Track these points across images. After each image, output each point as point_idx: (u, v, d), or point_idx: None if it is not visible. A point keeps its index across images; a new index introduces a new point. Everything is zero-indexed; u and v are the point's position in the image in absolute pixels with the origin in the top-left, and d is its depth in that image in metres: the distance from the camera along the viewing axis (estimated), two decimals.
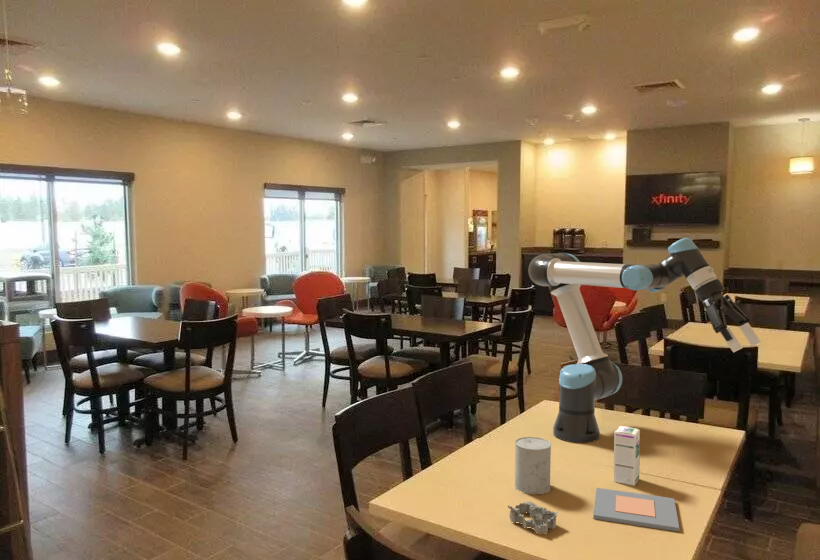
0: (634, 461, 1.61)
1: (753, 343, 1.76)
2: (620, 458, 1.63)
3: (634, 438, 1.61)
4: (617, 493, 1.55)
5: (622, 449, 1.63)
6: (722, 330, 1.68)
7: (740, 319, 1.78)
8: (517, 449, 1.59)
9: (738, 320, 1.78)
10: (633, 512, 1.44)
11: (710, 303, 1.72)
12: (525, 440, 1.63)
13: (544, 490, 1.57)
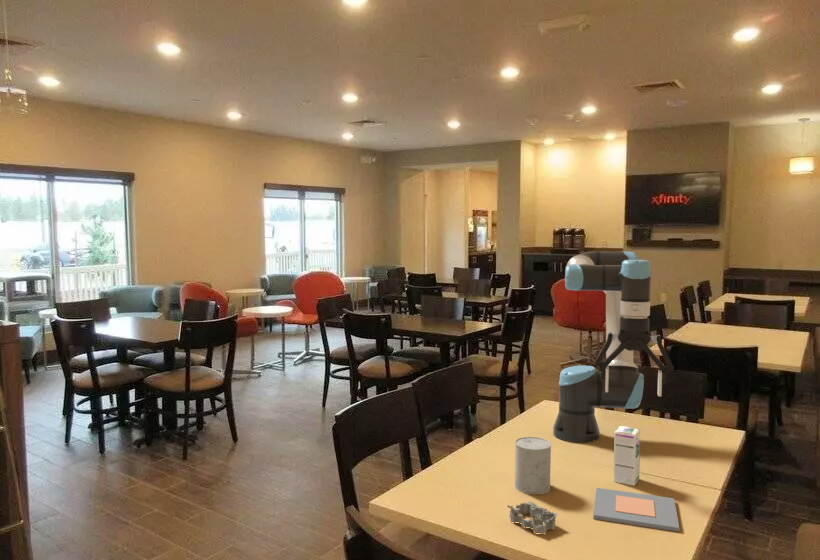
0: (634, 461, 1.61)
1: None
2: (620, 458, 1.63)
3: (634, 438, 1.61)
4: (617, 493, 1.55)
5: (622, 449, 1.63)
6: None
7: (657, 365, 1.60)
8: (517, 449, 1.59)
9: None
10: (633, 512, 1.44)
11: (607, 338, 1.63)
12: (525, 440, 1.63)
13: (544, 490, 1.57)
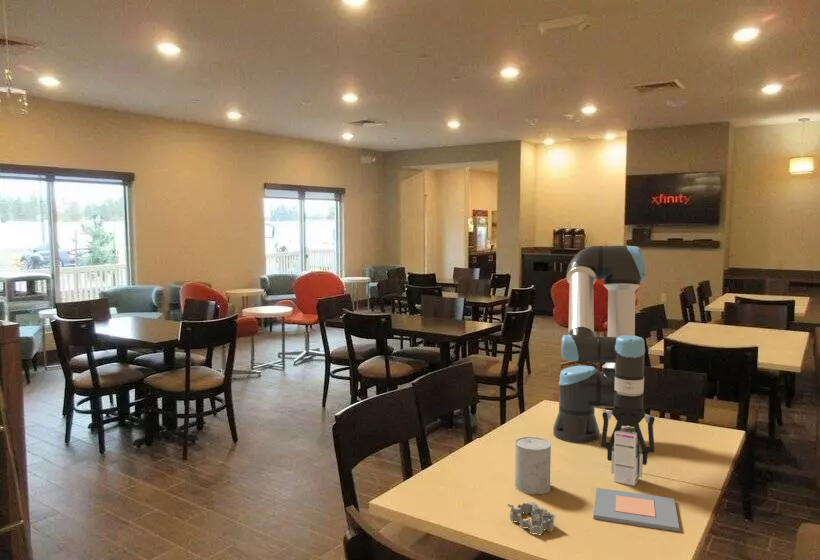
0: (634, 461, 1.61)
1: None
2: (620, 458, 1.63)
3: (634, 438, 1.61)
4: (617, 493, 1.55)
5: (622, 449, 1.63)
6: None
7: None
8: (517, 449, 1.59)
9: None
10: (633, 512, 1.44)
11: (603, 418, 1.65)
12: (525, 440, 1.63)
13: (544, 490, 1.57)
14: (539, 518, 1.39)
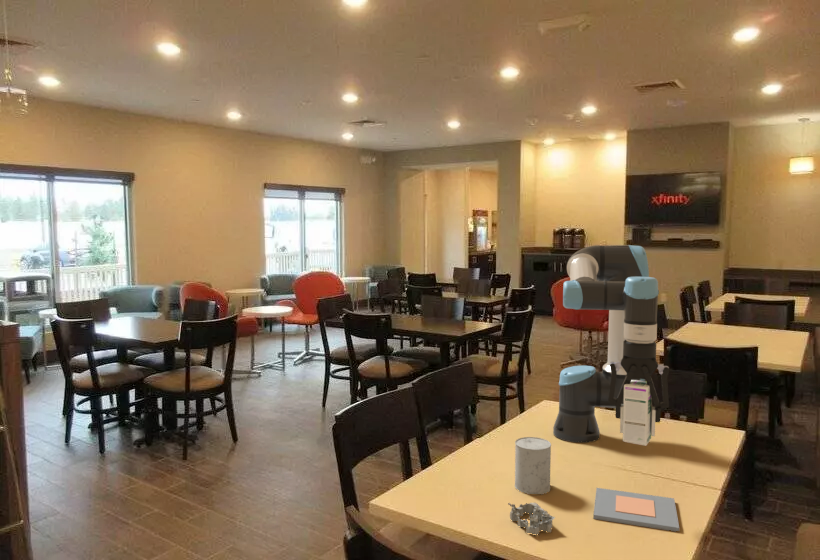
0: (646, 417, 1.42)
1: None
2: (630, 415, 1.44)
3: (646, 391, 1.42)
4: (617, 493, 1.55)
5: (632, 404, 1.43)
6: None
7: (653, 399, 1.44)
8: (517, 449, 1.59)
9: None
10: (633, 512, 1.44)
11: (611, 370, 1.46)
12: (525, 440, 1.63)
13: (544, 490, 1.57)
14: (537, 519, 1.39)
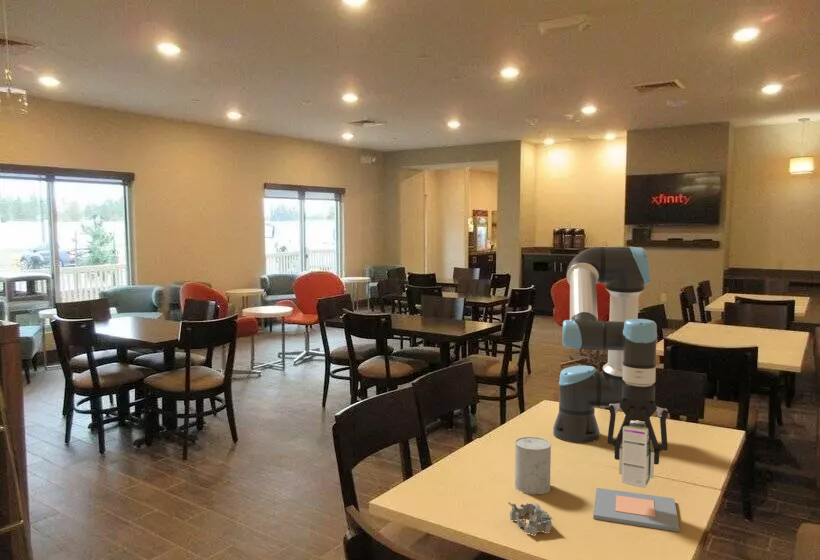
0: (645, 460, 1.43)
1: None
2: (629, 457, 1.45)
3: (645, 434, 1.42)
4: (617, 493, 1.55)
5: (631, 446, 1.44)
6: None
7: None
8: (517, 449, 1.59)
9: None
10: (633, 512, 1.44)
11: (610, 412, 1.47)
12: (525, 440, 1.63)
13: (544, 490, 1.57)
14: (536, 519, 1.38)
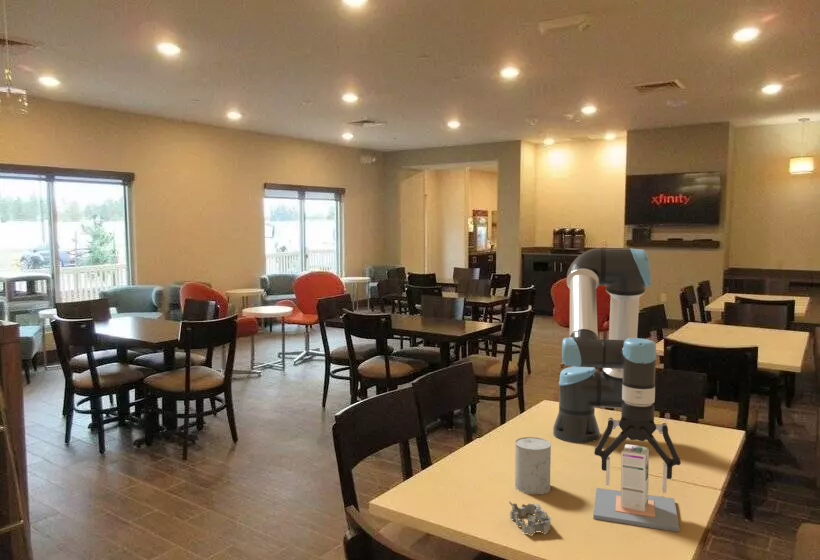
0: (644, 484, 1.44)
1: (662, 487, 1.46)
2: (628, 481, 1.45)
3: (644, 459, 1.43)
4: (617, 493, 1.55)
5: (630, 471, 1.45)
6: None
7: None
8: (517, 449, 1.59)
9: None
10: (633, 512, 1.44)
11: (607, 426, 1.48)
12: (525, 440, 1.63)
13: (544, 490, 1.57)
14: (534, 519, 1.38)
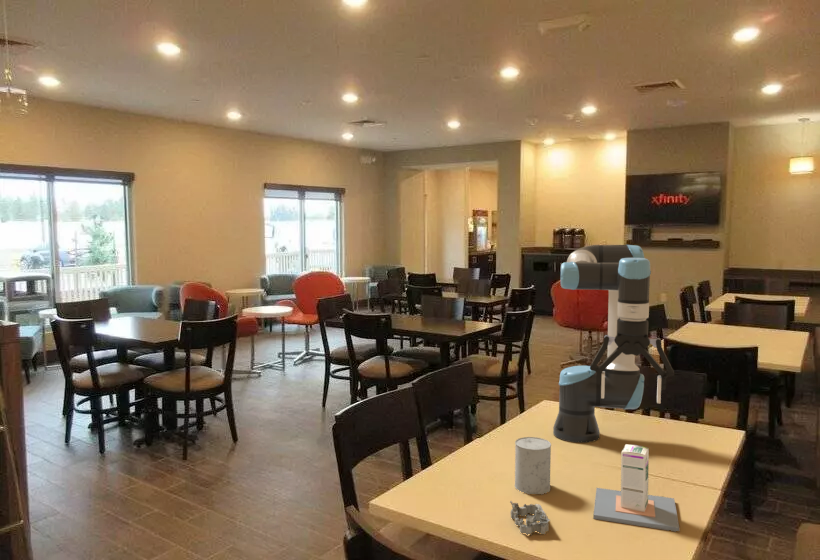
0: (644, 484, 1.44)
1: None
2: (628, 481, 1.45)
3: (644, 459, 1.43)
4: (617, 493, 1.55)
5: (630, 471, 1.45)
6: None
7: (656, 370, 1.50)
8: (517, 449, 1.59)
9: None
10: (633, 512, 1.44)
11: (603, 342, 1.54)
12: (525, 440, 1.63)
13: (544, 490, 1.57)
14: (533, 519, 1.38)
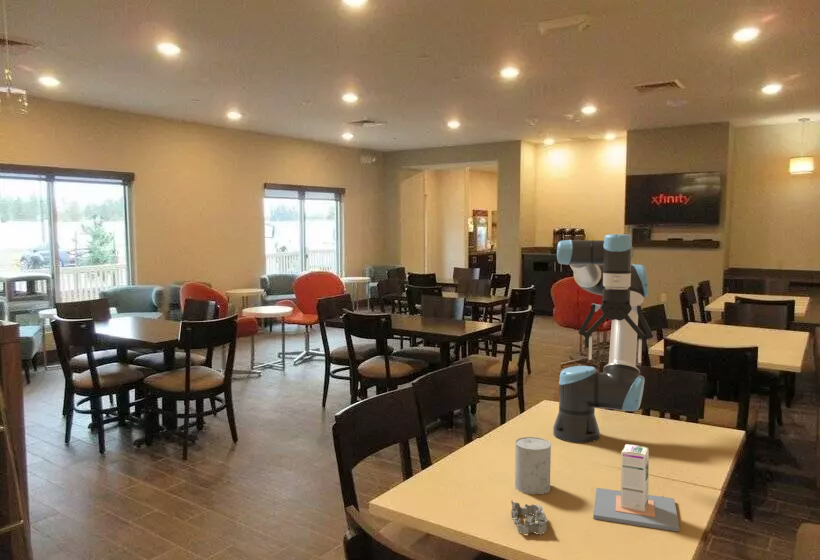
0: (644, 484, 1.44)
1: None
2: (628, 481, 1.45)
3: (644, 459, 1.43)
4: (617, 493, 1.55)
5: (630, 471, 1.45)
6: None
7: None
8: (517, 449, 1.59)
9: None
10: (633, 512, 1.44)
11: None
12: (525, 440, 1.63)
13: (544, 490, 1.57)
14: (531, 520, 1.38)
